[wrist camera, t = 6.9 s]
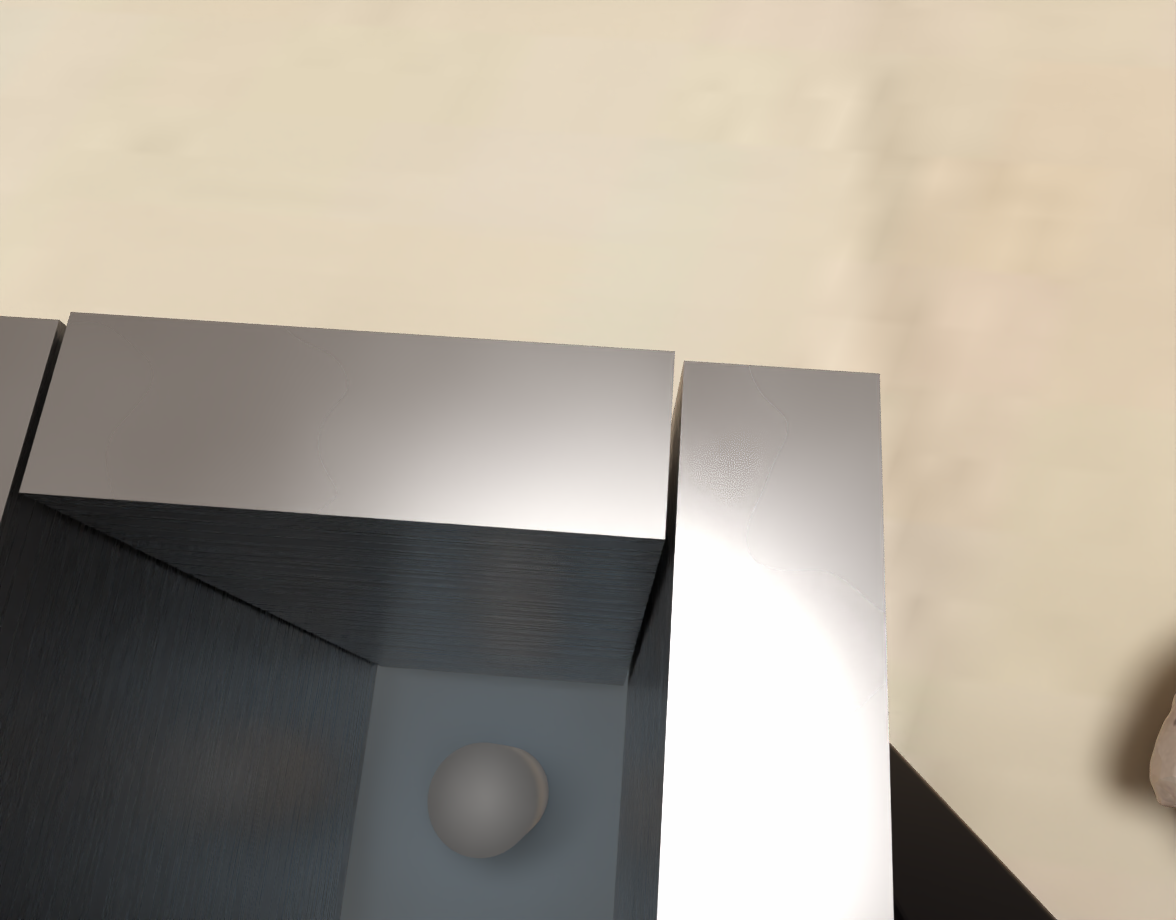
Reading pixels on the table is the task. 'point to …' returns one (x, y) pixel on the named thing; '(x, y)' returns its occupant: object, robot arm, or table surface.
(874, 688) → the open metal box
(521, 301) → the table surface
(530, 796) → the shaft stand
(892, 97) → the table surface
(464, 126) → the table surface
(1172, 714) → the fossil
